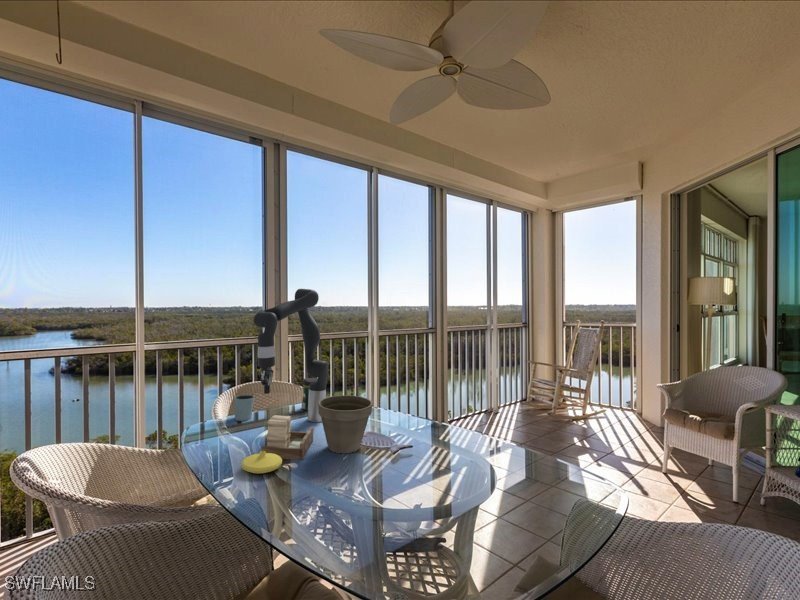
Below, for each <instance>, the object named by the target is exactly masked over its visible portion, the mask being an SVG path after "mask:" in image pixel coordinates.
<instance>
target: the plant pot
mask: <svg viewBox="0 0 800 600" xmlns="http://www.w3.org/2000/svg"><path fill="white" fill-rule="evenodd" d="M318 409H319V415H320V416H321V419H322V422H321V423H322V426H323V431H324V436H325V440H326V445H327V447H328V449H329V451H330V452H332V453H335V452H336V454H340V453H345V454H346V453H347V454H352V452H353V453H355V452H357V451H359V450H360V448H361V445H362V442H363V438H364V435H365V432H366V428H367V424H368V421H369V418H370V416H371V415H372V411H373V401H372V400H371V399H369V398H366V397H365V396H357V395H351V394H348V395H347V394H346V395H332V396H327V397H326V398H324V399H322V400H320V401H319V403H318ZM345 454H344V455H345Z"/></svg>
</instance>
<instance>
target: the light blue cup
mask: <svg viewBox="0 0 800 600" xmlns="http://www.w3.org/2000/svg"><path fill="white" fill-rule="evenodd" d="M233 401H234V419H235V421H237V422H246V421H245V420H247V421H250V420H251V419H252V418H253V417H252V416H253V415H252V414H253V408H254V407H253V406H254V401H255V396H254V395H252V394H238V395H235V396H234V399H233ZM249 419H250V420H249Z"/></svg>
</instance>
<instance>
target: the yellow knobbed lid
mask: <svg viewBox="0 0 800 600" xmlns="http://www.w3.org/2000/svg"><path fill="white" fill-rule="evenodd" d="M282 463H283V459H281V457H280V456H278V455H276V454H273V453H265V451H261V450H260V451H259V453H258V452H257V453H254V454H251V455H250V454H249V455H247V456H246V457H245V458H244V459H243V460H242V461H241V463H240V464H241V467H242V470H244V471H246V472H248V473H252V474H256V475H257V474H258V475H259V474H267V473H270V472H273V471H276V470H277V469H279V468H280V467H281V466H282Z"/></svg>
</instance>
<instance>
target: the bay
mask: <svg viewBox="0 0 800 600" xmlns="http://www.w3.org/2000/svg"><path fill="white" fill-rule="evenodd" d="M314 430H315V429H314V426H309V429H308V430H307V431H296V430H295V431H294V430H290V434H291V436H290V442H289V443H288V445H287V446H286V447H274V446H267V445H262V446H261V448H260V451H265V453H273V454H276V455H278V456H280V457H281V459H282V460H301V461H303V459H304V458H305V456H306V455H307V453H308V451H309V449H310V447H311V446H312V444H313V442H314Z"/></svg>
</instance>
